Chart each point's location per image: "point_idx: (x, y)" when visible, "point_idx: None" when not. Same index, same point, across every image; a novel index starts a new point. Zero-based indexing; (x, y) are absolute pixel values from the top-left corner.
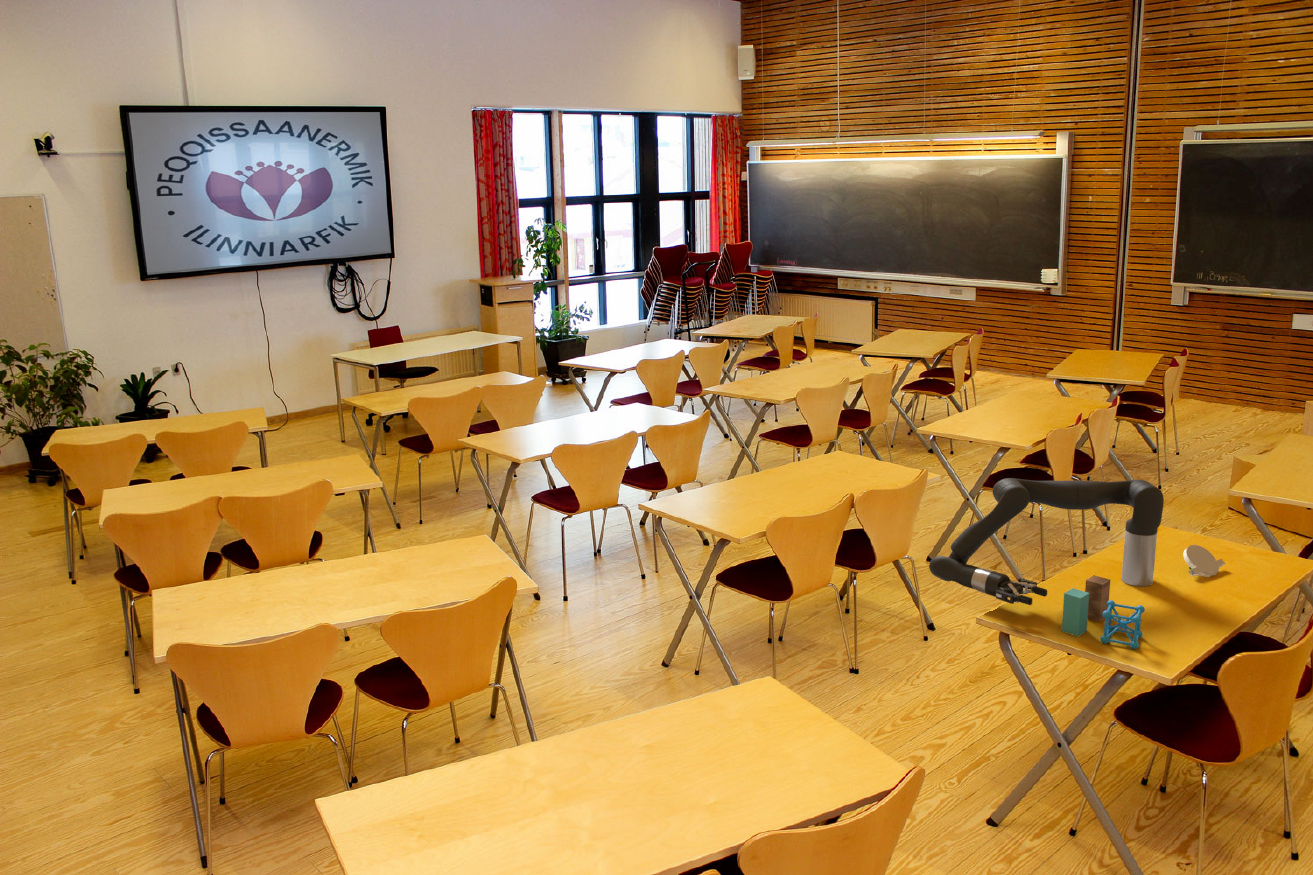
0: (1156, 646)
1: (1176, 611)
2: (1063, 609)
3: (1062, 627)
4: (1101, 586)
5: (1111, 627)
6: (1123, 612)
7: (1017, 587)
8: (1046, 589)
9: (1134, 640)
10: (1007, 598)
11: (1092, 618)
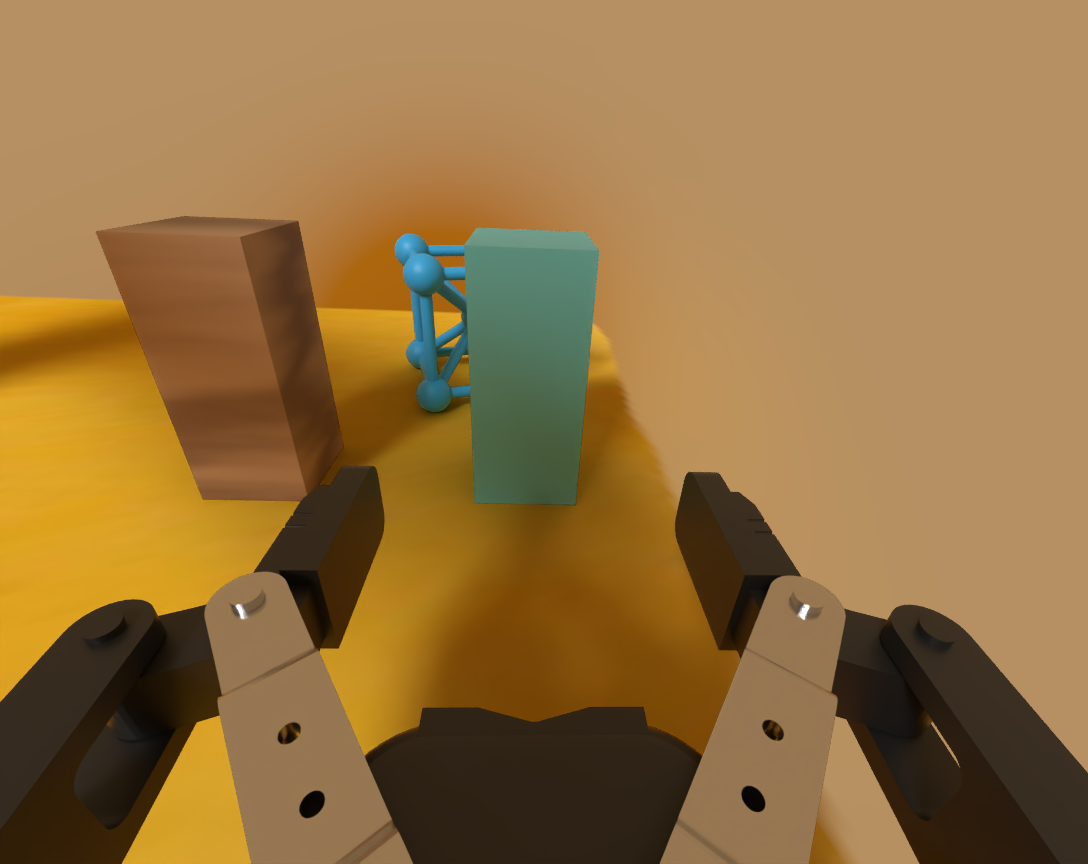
0: None
1: (114, 355)
2: (587, 374)
3: (577, 481)
4: (299, 236)
5: (450, 374)
6: (169, 425)
7: (539, 783)
8: (344, 466)
9: None
10: (934, 818)
11: (328, 461)
